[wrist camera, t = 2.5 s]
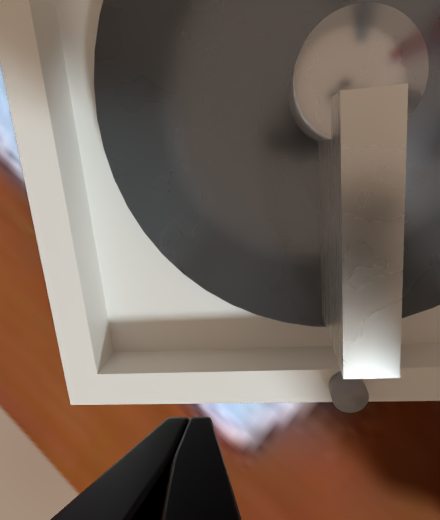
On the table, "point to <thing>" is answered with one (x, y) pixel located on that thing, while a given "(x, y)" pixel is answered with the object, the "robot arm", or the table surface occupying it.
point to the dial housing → (151, 260)
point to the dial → (284, 156)
